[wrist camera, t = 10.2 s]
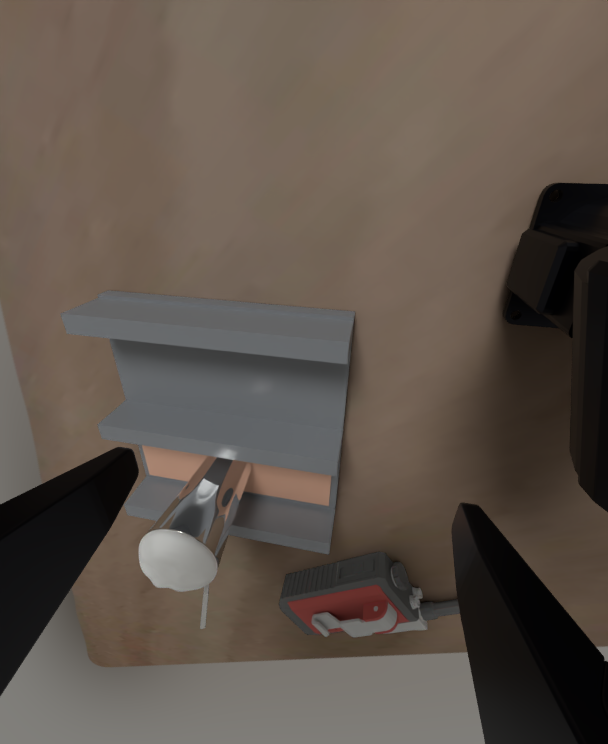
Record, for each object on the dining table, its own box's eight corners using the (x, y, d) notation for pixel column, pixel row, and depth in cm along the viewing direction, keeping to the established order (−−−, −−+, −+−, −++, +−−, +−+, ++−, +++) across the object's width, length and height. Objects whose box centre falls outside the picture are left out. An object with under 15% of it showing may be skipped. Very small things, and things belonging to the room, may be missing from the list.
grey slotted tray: (355, 311, 20) (349, 338, 17) (335, 510, 28) (328, 556, 25) (108, 290, 23) (59, 310, 19) (156, 479, 31) (128, 516, 27)
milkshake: (240, 496, 28) (178, 636, 19) (191, 452, 27) (101, 582, 18) (280, 474, 26) (229, 620, 17) (228, 426, 25) (146, 557, 16)
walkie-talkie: (320, 620, 38) (513, 588, 29) (313, 669, 34) (533, 649, 26) (272, 572, 35) (469, 522, 27) (259, 619, 31) (484, 579, 23)
